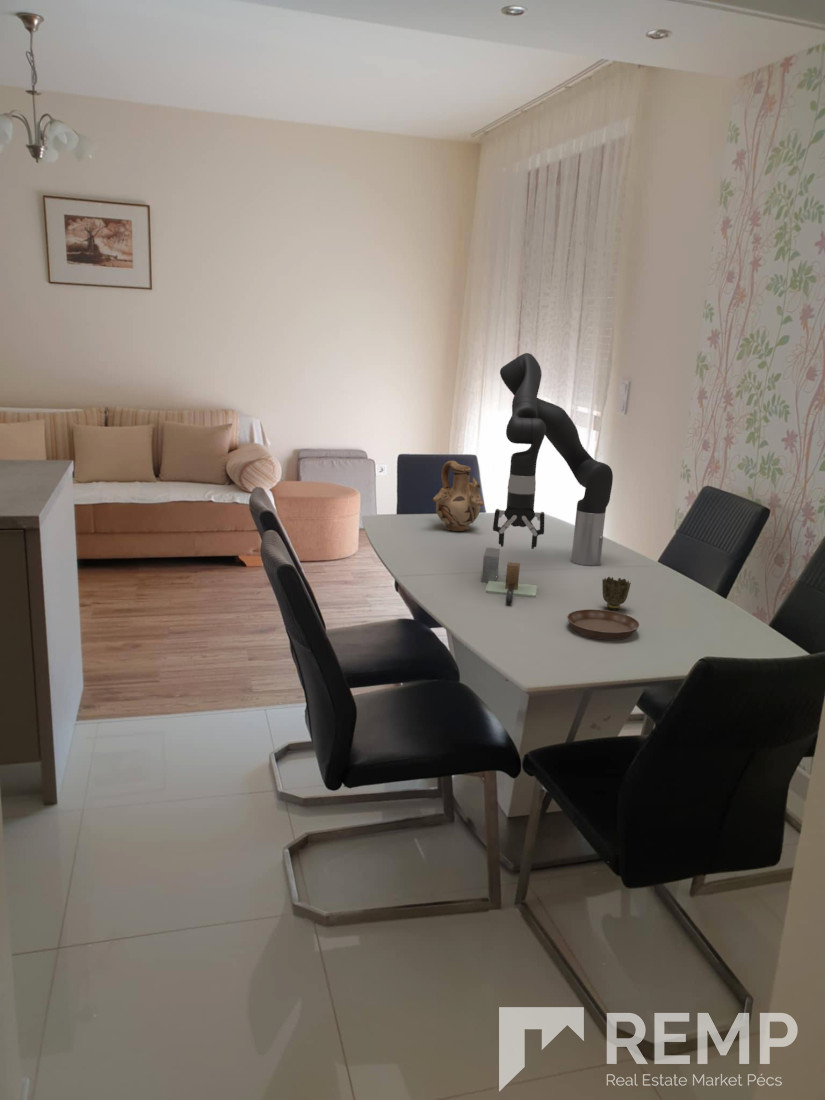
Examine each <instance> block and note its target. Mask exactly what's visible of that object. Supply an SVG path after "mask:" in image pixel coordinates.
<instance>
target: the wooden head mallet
mask: <svg viewBox="0 0 825 1100" xmlns="http://www.w3.org/2000/svg"><path fill="white" fill-rule="evenodd" d="M520 568H521V563H520V562H513V561H512V562H511V561H508V562H507V564H506V575H505V582H506V584H505V589H508V591H507V595H506V598H505V604H506V605H512V604H513V600H514V595H513V592H514V590H518V584H519V580H520V579H519V578H520V570H521V569H520Z"/></svg>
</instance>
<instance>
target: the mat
mask: <svg viewBox="0 0 825 1100" xmlns="http://www.w3.org/2000/svg"><path fill="white" fill-rule="evenodd" d="M505 584H506V581H497V580H496V581H488V583H487V585H486V587H485V588H486V589H485V593H489V594H496V595H497V594H498V595H499V594H500V595H506V596H507V591H508V589H505ZM537 587H538V586H537V585H533V584H526V583H525V584H524V583H518V590H514V592H513V596H515V597H517V596H518V597H527V598H535V597H536V598H537Z"/></svg>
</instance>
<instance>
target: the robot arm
mask: <svg viewBox="0 0 825 1100" xmlns="http://www.w3.org/2000/svg"><path fill="white" fill-rule="evenodd" d="M499 374H500V378H501V380H502V381H503V383H504V385H505V386H506V387H507V389H508V390H509V391H510V392H511V394H512V395H514V396H513V398H512V402H511V403H512V404H511V410H512V411H511V413H512V414H511V417H510V419H509V420H508V423H507V425H506V429H505V436H506V438H507V440H508V441H509V442H510V443H512V444H520V445H521V444H523V445H530V446H529V448H528V449H526V450H523V451H517V452H514V453H512V454H511V456H510V469H509V476H508V483H507V484H508V485H507V496H506V498H507V499H506V509H505V510H503V509H499V508H496V509H495V512H494V516H493V524H492V530H493V532H497V533H498V545H500V547H504V545H505V544H504V542H505V532H506V530H507V529H509V527H510V526H512V527H519V528H525V527H527V529H528V530H529V532H530V533H531V534H532V535H531V549H532V550H534V549H535V548H537V546H538V544H537V543H538V536H540V535H544V534H545V517H546V516H545V512H544V511H540V512H535V510H534V508H535V496H536V485H537V484H536V481H537V480H536V473H537V472H536V471H537V461H538V457H539V452H540V449H541V446H542V443H543V440H544V438H545V437H546V438H547V440H548V441H549V442H550V444H551V445H552V446H553V447H554V449H555V450H556V451H557V452H558V454H559V455H560V456H561V457H562V458H563V459H564V461H565V462H566V464H567V465H568V467H569V469H570V471H571V473H572V474H573V476H574V478H575V480H576V482H577V483H578V484H579V485H581V486H582V487H583V488H585V490H584V494H583V495H584V496H583V497H582V499H579V500H578V501H577V503H576V513H575V519H574V520H575V521H574V531H573V540H572V548H571V557H570V558H571V559H570V562H572V563H574V564H577V565H581V566H601V560H602V559H601V558H602V552H603V543H604V529H605V520H606V511H607V507H608V505H609V504H610V500H611V495H612V494H611V493H612V487H613V479H614V475H613V470H612V468H611V466H610V465H608V464H606V463H604V462H602V461H599V460H596V459H594V458H593V457H592V456H591V455H590V453H589V452H588V451H587V450H586V449H585V447H584V446H583V444H582V443H581V439H580V435H579V432H578V428H577V427H576V424H575V423H574V421H573V420H572V419H571V417H570V416H569V414H568V413H567V412H566V411H565V410H564V408H563V407H560V406H559V405H556V404H553V403H552V402H550V401H549V402H548V401H545V400H543V399H541V398H539V397H538V394H539V390H540V386H541V385H540V384H541V381H542V368H541V366H540V363H539V361H538V360H537V359H536V357H535V356H534V355H533V354H531V353H530V352H529V353H528V352H526V353H522V354H521V355H518V356H517V357H516V358H514V359H512V360H511V361H509V362H508V363H506V364H505V365H503V366H502V367H501V368H500V371H499ZM503 515H504V516H505V518H506V519H507V520H506V521H505V522H504V524H503V525H502V526H501V527H500V526H499V520H500V519H501V518H502V517H503ZM534 518H536V520H537V521H538V522H539V529H536V527H535V526H534V523H533V522H532V521H533V520H534Z"/></svg>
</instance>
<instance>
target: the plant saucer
mask: <svg viewBox="0 0 825 1100" xmlns="http://www.w3.org/2000/svg"><path fill="white" fill-rule="evenodd" d="M566 618H567V621H568V623H569V625H570V626H571V627H572V629H573V630H574V631H575V632H576V633H578V634H580V635H582V636H585V637H588V638H591V639H597V640H605V641H617V640H623V639H626V638H629V637H630V636H631V635H633V634H634V633H635V632H637V630H638V629H639V627H640V623H639V621H638V620H637V619H635V618H634V617H632V616H630V615H627V614H624V613H621V612H616V611H614V610H607V609H594V608H593V609H589V608H588V609H579V610H574V611H571V612H570V613H568V615H567V616H566Z"/></svg>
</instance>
